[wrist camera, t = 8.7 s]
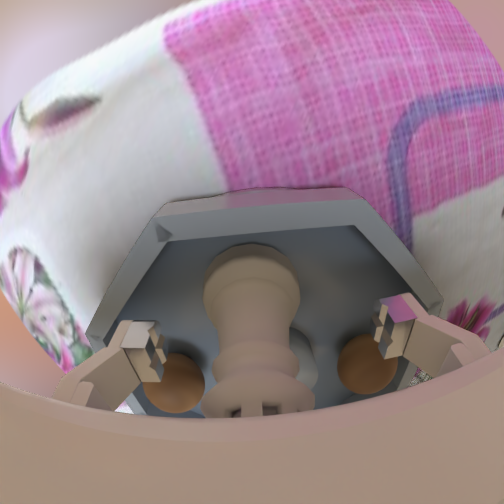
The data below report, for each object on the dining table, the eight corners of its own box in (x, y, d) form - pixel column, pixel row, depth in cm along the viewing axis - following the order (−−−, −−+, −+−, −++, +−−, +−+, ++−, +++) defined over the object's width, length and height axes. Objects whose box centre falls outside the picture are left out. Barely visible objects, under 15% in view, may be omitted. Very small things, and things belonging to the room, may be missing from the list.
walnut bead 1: (219, 359, 15) (215, 409, 12) (188, 385, 17) (181, 429, 13) (167, 330, 14) (152, 379, 11) (140, 360, 16) (126, 404, 12)
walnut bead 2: (393, 336, 15) (416, 376, 12) (352, 369, 17) (367, 411, 13) (364, 311, 14) (389, 355, 11) (318, 350, 15) (332, 397, 12)
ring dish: (446, 312, 16) (467, 337, 14) (274, 437, 22) (276, 463, 19) (248, 101, 11) (250, 93, 8) (81, 346, 16) (66, 375, 14)
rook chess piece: (249, 332, 15) (255, 472, 7) (185, 281, 13) (143, 430, 6) (315, 282, 13) (370, 424, 6) (252, 219, 12) (268, 363, 5)
